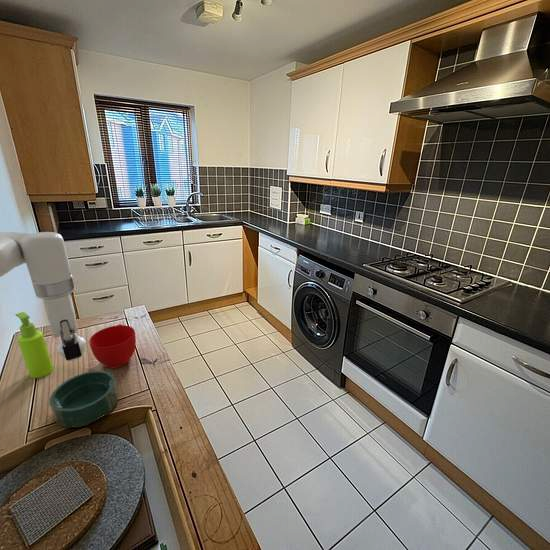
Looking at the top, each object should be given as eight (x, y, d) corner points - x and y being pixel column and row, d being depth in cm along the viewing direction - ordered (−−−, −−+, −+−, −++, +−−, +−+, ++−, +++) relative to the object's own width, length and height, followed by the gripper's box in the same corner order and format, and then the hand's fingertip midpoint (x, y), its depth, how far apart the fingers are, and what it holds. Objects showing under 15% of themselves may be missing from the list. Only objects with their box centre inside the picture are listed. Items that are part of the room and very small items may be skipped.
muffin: (91, 348, 78) (85, 325, 76) (85, 362, 73) (79, 338, 70) (64, 352, 76) (58, 329, 74) (56, 366, 71) (48, 342, 68)
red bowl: (143, 341, 108) (139, 317, 104) (136, 370, 92) (131, 344, 89) (104, 346, 104) (98, 322, 100) (90, 377, 89) (83, 350, 85)
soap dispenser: (48, 361, 95) (30, 307, 88) (56, 370, 92) (39, 314, 85) (25, 371, 91) (5, 315, 84) (34, 380, 87) (13, 322, 80)
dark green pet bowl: (57, 440, 69) (50, 421, 67) (54, 402, 80) (48, 384, 78) (123, 411, 77) (120, 393, 75) (113, 380, 88) (109, 364, 86)
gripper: (34, 278, 71) (52, 340, 78) (34, 304, 59) (56, 375, 65) (70, 272, 76) (85, 331, 82) (78, 295, 63) (94, 363, 70)
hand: (72, 350), depth 74 cm, fingers closed on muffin, 6 cm apart
